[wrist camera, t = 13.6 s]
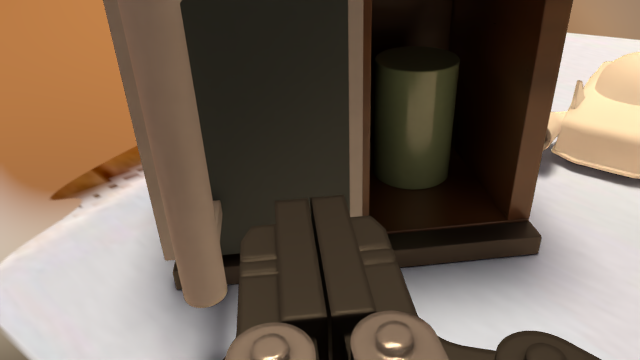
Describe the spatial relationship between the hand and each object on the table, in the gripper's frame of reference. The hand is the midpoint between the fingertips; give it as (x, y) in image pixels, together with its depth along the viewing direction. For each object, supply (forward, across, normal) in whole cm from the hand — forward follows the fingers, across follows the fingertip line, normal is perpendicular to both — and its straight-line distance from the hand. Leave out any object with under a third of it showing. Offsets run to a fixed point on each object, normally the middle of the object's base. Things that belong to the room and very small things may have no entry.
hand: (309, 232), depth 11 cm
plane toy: (+23, -25, +10) cm, 35 cm away
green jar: (+18, -7, +9) cm, 21 cm away
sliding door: (+8, +2, +9) cm, 12 cm away
